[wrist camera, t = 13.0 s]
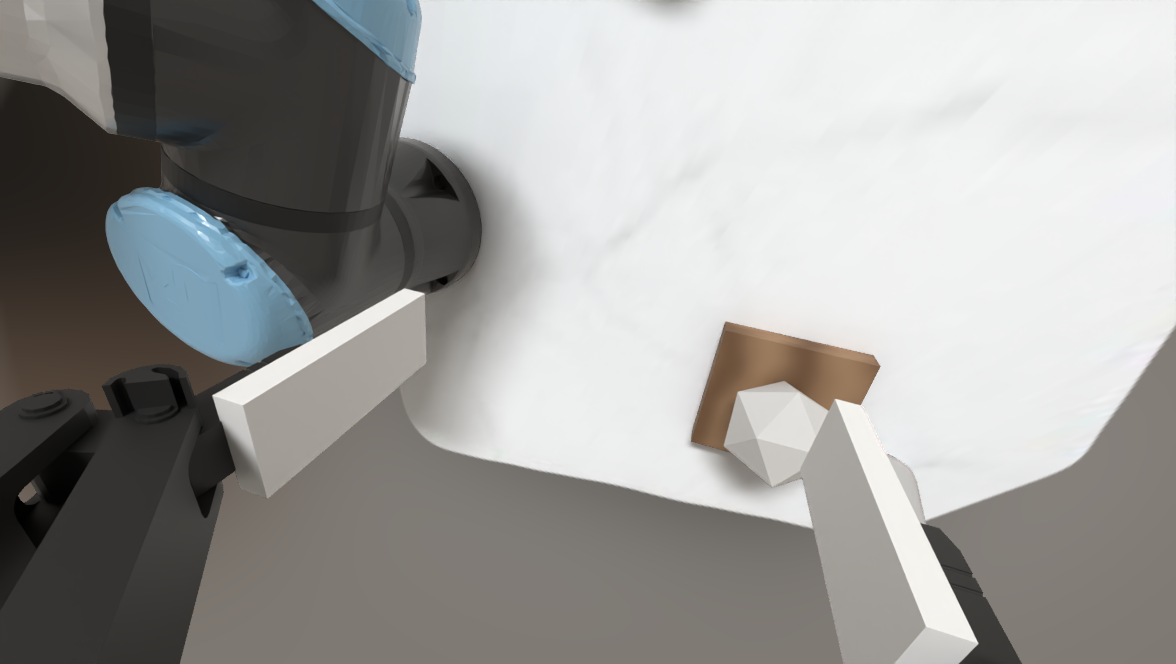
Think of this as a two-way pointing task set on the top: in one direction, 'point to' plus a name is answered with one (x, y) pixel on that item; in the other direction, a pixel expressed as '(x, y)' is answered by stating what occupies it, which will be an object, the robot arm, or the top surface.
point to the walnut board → (776, 375)
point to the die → (774, 431)
